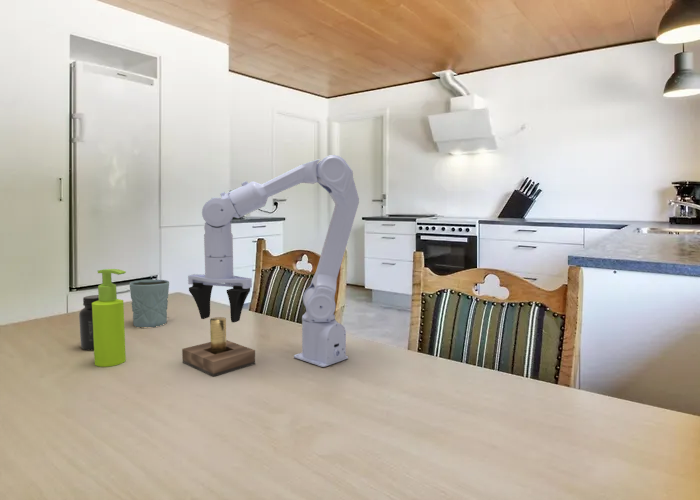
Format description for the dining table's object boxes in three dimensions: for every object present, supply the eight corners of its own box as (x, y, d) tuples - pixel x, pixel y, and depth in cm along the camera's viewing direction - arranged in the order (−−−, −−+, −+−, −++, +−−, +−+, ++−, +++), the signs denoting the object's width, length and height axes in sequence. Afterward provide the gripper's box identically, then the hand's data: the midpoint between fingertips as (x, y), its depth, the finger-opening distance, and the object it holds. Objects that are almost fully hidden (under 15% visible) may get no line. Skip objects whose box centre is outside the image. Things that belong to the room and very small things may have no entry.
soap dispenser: (117, 368, 94) (113, 271, 92) (88, 365, 95) (83, 270, 93) (136, 359, 100) (132, 268, 98) (108, 356, 101) (104, 267, 99)
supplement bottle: (119, 342, 111) (117, 294, 110) (101, 351, 105) (99, 299, 103) (93, 341, 112) (91, 293, 111) (73, 350, 105) (71, 299, 104)
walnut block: (255, 363, 97) (254, 350, 97) (213, 376, 90) (213, 361, 90) (223, 351, 105) (223, 338, 105) (182, 362, 98) (182, 348, 97)
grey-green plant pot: (122, 326, 126) (121, 283, 124) (148, 318, 135) (147, 278, 134) (153, 330, 123) (152, 285, 122) (177, 321, 132) (176, 280, 131)
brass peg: (229, 359, 98) (229, 318, 97) (217, 363, 95) (216, 321, 94) (220, 357, 100) (219, 316, 99) (207, 360, 97) (207, 319, 96)
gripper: (259, 255, 97) (259, 318, 98) (202, 252, 102) (203, 312, 103) (240, 259, 90) (241, 326, 92) (180, 255, 95) (182, 319, 97)
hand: (220, 319), depth 97 cm, fingers open, 7 cm apart
